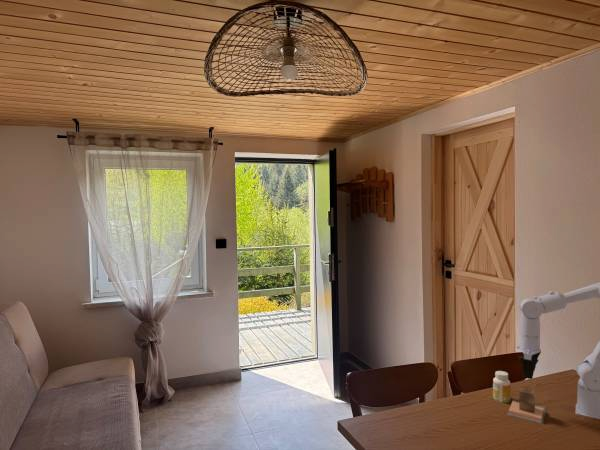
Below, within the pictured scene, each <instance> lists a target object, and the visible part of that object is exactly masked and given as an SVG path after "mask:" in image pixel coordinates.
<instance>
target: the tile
mask: <svg viewBox="0 0 600 450" xmlns="http://www.w3.org/2000/svg"><path fill="white" fill-rule="evenodd" d="M511 403H512V404H511ZM511 403H510V405H511V406H510V405H509V408H510V409H509V408H508V411H509V415H512V416H516V417H520V418H524V419H528V420H532V421H536V422H540V423H542V418H543V413H544V408H542V407H538V406H535V410H534V413H531V412H527V411H523V410H519V402H516V401H512V400H511ZM512 416H511V417H512ZM516 417H515V418H516ZM520 418H519V419H520ZM524 419H523V420H524ZM528 420H527V421H528ZM532 421H531V422H532ZM536 422H535V423H536ZM540 423H539V424H540Z"/></svg>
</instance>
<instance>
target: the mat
mask: <svg viewBox="0 0 600 450" xmlns="http://www.w3.org/2000/svg"><path fill="white" fill-rule="evenodd" d="M512 401H516V402H519V400H517V399H512V400H511V403H510V405H509V408H508V411H507V413H506V415H507V416H509V417H512V418H516V419H521V420H523V421H524V420H525V421H529V422H531V423H535V424H540V425H544V422H545V416H546V411H547V406H542V405H540V404H538V405H537V404H535V406H538V407H542V408H544V413H543V418H542V423H540V422H536V421H532V420H528V419H524V418H520V417H516V416H512V415H509V409H510V406H511V404H512Z"/></svg>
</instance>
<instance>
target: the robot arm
mask: <svg viewBox="0 0 600 450" xmlns="http://www.w3.org/2000/svg"><path fill="white" fill-rule="evenodd" d="M595 298H596V299H600V281H599V282H596V283H593V284H589V285H587V286H584V287H580V288H578V289H574V290H572V291H568V292H565V293H560V292H558V291H555V292H554V291H553V290H550V291H548V293H547V294H544V295H540V296H537V295H535V296H533V297H532V298H530V297H527V298H524V299H523V300H521V302H520V304H519V310H520V311H521V314H520V315H521V316H520V344H516V349H519V350H520V351H522V353H523V355H519V356H518V360H519V362H520V364H521V368H522V370H523V376H524V378H525V379H529V380H532V379H533V377H534V372H535V370H536V367H537V364H538V362H539V359H538V358H539V356H540V355H541V353H542V350H541V321H540V320H541V319H540V318H541V316H542V315H543V314H545V315H546V314H549V313H552V312H556V311H560V310H565V308H566V307H567V305H568V304H571V303H577V302H581V301H585V300H590V299H595ZM575 371H576V373H577V376H578V377H579V378H578V381H577V387H576V388H577V393H576V397H577V399H576V401H577V402H576V404H575V412H574V413H575V414H576V415H581V416H585V417H589V418H594V419H596V420H597V419H598V420H600V340H599V341H598V343H597V344H596V346H595V347H594V349H593V351H592V353H591V354H589V355H587V356H586V357H585V359H584V360H583V361H581V362H579V363H578V364H577V366H576V369H575Z"/></svg>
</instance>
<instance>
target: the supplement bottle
mask: <svg viewBox="0 0 600 450" xmlns="http://www.w3.org/2000/svg"><path fill="white" fill-rule="evenodd" d="M494 376H495V377H493V379H492V381H493V382H492V398H493V400H495V401H497V402H500V403H510V402H511V381H510V380H509V373H508V372H507V371H503V370H497V371H495V373H494Z"/></svg>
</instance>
